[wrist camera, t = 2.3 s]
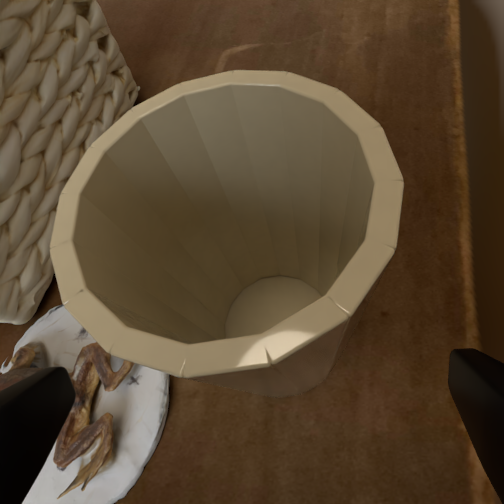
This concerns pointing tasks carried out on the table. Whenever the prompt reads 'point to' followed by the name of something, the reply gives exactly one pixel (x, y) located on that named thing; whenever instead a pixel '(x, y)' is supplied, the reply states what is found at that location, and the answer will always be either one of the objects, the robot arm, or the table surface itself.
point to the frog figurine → (92, 413)
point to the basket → (48, 128)
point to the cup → (230, 230)
